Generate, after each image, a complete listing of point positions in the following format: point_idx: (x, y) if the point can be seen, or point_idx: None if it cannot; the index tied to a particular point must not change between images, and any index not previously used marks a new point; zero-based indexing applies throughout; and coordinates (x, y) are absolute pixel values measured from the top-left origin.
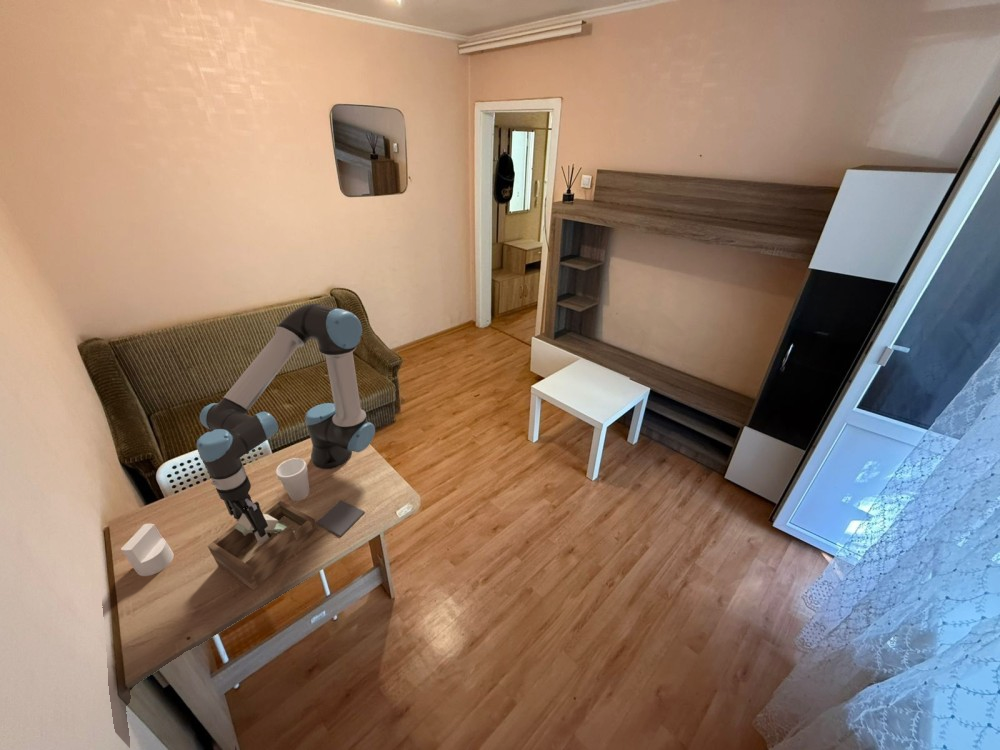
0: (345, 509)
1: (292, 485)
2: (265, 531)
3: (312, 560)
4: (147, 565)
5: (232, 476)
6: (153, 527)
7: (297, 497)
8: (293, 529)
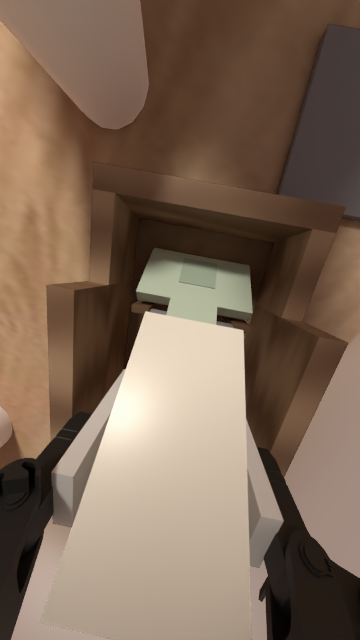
0: None
1: None
2: (250, 436)
3: (334, 331)
4: None
5: None
6: None
7: (127, 105)
8: (222, 263)
